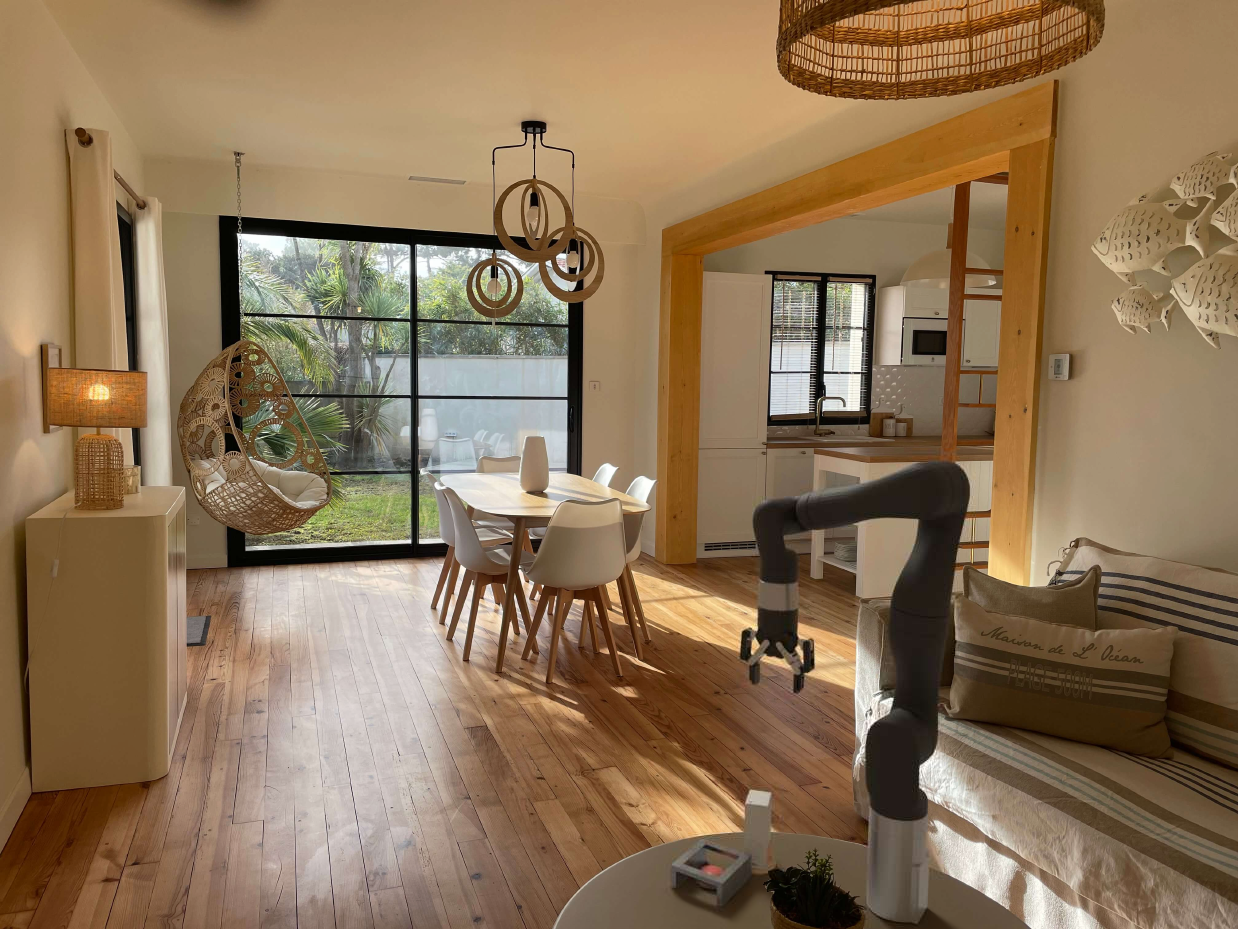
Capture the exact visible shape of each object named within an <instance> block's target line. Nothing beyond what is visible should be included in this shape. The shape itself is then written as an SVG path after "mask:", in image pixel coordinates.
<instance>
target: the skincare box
mask: <svg viewBox="0 0 1238 929" xmlns="http://www.w3.org/2000/svg"><path fill="white" fill-rule="evenodd" d="M772 795H773V794H772V792H769V791H762V790H755V789H750V790H749V792H748V794H747V796H746V800H745V803H744V824H743V825H744V828H743V852H744V853H746V854H749V855H752V858H751V868H754V869H760V870H766V867H767V862H768V859H769V855H770V856H771V826H772V825H771V824H772V797H773V796H772Z"/></svg>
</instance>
